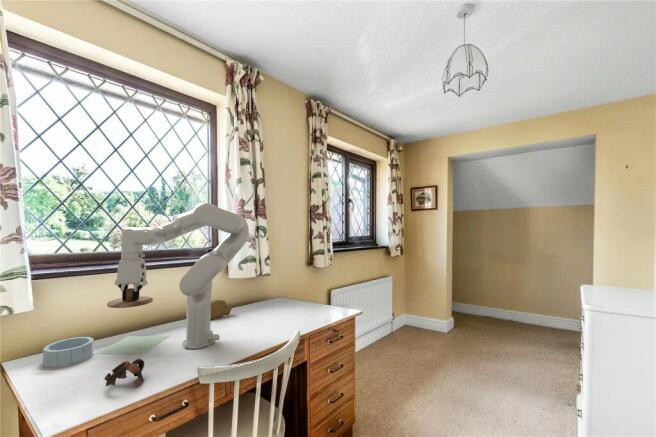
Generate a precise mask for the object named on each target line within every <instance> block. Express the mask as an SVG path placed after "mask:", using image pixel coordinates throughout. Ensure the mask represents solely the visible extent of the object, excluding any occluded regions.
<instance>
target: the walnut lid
mask: <svg viewBox="0 0 656 437" xmlns="http://www.w3.org/2000/svg"><path fill="white" fill-rule="evenodd" d="M133 291H134V287H131V288H130V287H128V289H126V300H125V301H122V297H121V298H117V299H113V300H109V301H108V302H107V304H106V306H107V307H108V308H111V309H112V308H114V309H124V308H134V307H141V306H145V305H149V304H151V303H152V302H153V300H154V299H153V298H152V297H150V296H139V300H136V301H132V297H133Z"/></svg>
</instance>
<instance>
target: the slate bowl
mask: <svg viewBox="0 0 656 437" xmlns="http://www.w3.org/2000/svg"><path fill="white" fill-rule="evenodd" d="M94 340H95V339H94V338H93V337H90V336H78V337H72V338H71V337H70V338H66V339H61V340H57V341H55V342H51V343H50V344H47V345H46V346H45V347H43V349H42V364H43V367H46V368H48V369H49V368H52V369H55V368H62V367H67V366H72V365H76V364H79V363H82V362H84V361H87V360H89V359H90V358H91V357H92V356H93V355H94V343H95V341H94Z"/></svg>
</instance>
